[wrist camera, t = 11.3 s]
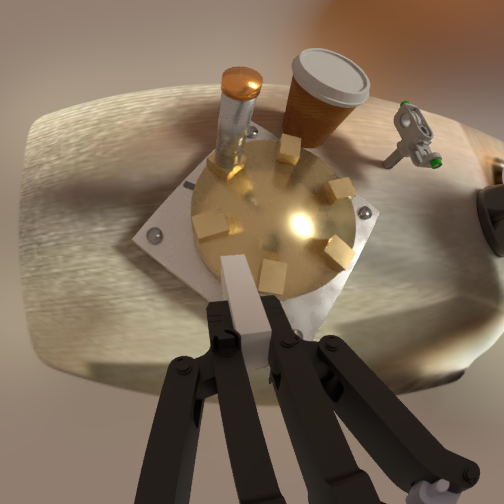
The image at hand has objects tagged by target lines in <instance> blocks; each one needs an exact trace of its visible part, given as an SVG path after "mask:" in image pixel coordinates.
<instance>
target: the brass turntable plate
mask: <svg viewBox="0 0 504 504" xmlns="http://www.w3.org/2000/svg"><path fill="white" fill-rule="evenodd" d="M262 82H263V78H262V76H261V75H260V74H259V73H258V72H257V71H255V70H253V69H251V68H247V67H232V68H229V69H227V70H226V71H225V72H224V73H223V75H222V82H221V90H222V94H221V102H220V111H219V119H218V128H217V138H216V147H215V151H214V152H213V153H212V154H210V155H209V156H208V157H207V160H206V167H205V168H204V170H203V171H202V173H201V174H200V176H199V178H198V180H197V182H196V184H195V187H194V190H193V194H192V200H191V223H192V231H193V238H194V241H195V244H196V248H197V250H198V252H199V254H200V256H201V258H202V260H203V261H204V263H205V265H206V266H207V267H208V269H209V270H210V271H211V272H212V273H213V274H214V276H215V277H217V278H218V279H219V280H220V281H221V261H220V256H229V255H242V254H245V257H246V260H247V263H248V266H249V268H250V271H251V274H252V277H253V280H254V282H255V285H256V288H257V291H258V294H259V296H267V295H274V296H275V297H276V298H278V299H279V300H288V299H292V298H296V297H299V296H302V295H305V294H307V293H310V292H313V291H315V290H317V289H319V288H321V287H323V286H324V285H326V284H327V283H329V282H330V281H331V280H332V279H334V278H335V277H336V276H337V275H338V273H340V272H342V271H344V270H346V269H347V267H348V266H349V264H350V263H351V261H352V260H353V258H354V256H355V255H356V252H354V251H353V250H352V249H353V246H354V242H355V236H356V218H355V212H354V207H353V204H352V201H351V200H352V199H353V198H354V197H355V196H356V195H357V192H356V190H355V188H354V186H353V184H352V182H351V180H350V178H349V177H346V178H341V179H340V178H339V177H338V176H337V174H336V173H335V172H334V171H333V170H332V169H331V168H330V167H329V166H328V165H327V164H326V163H325V162H324V161H322V160H321V159H320V158H318V157H317V156H315V155H314V154H312V153H311V152H309V151H307V150H305V149H303V148H301V138H298V137H294V136H291V135H287V134H283V133H282V136H281V138H280V140H279V141H275V140H255V141H249V142H245V141H246V137H247V133H248V129H249V125H250V121H251V118H252V114H253V110H254V106H255V102H256V99H257V96H258V95H259V93H260V90H261V86H262Z"/></svg>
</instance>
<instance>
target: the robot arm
mask: <svg viewBox="0 0 504 504" xmlns="http://www.w3.org/2000/svg"><path fill="white" fill-rule="evenodd" d="M477 209H478V214H479V219H480V222H481V226H482V229H483V231H484V234H485V236H486V238H487V240H488V242H489V244H490V246H491V247H492V249H493V250H494V252H495V253H496V254H497V255H499V256H501V257H504V184H499V185H494V186H487V187H485V188H484V189H482V190H480V191H479V193H478V196H477ZM220 261H221V285H222V295H223V300H224V301H215V302H209V304H208V306H207V308H206V310H207V320H208V329H209V337H210V344H211V345H210V349H209V350H208V352H207V353H206V354H204V355H203V356H201V357H198V358H196V359H193V358H192V357H188V356H180V357H177V358H175V359H174V360H172V361H171V363H170V364H169V367H168V370H167V374H166V377H165V380H164V384H163V387H162V391H161V395H160V398H159V402H158V406H157V409H156V413H155V417H154V421H153V424H152V429H151V433H150V436H149V440H148V444H147V448H146V452H145V456H144V461H143V465H142V469H141V474H140V478H139V483H138V487H137V492H136V497H135V502H134V504H189V499H190V492H191V485H192V478H193V472H194V465H195V458H196V451H197V445H198V438H199V432H200V425H201V419H202V413H203V407H204V401H205V398H207V397H210V396H212V395H215V394H217V393H218V399H219V405H220V411H221V417H222V422H223V427H224V433H225V438H226V444H227V448H228V454H229V458H230V463H231V468H232V473H233V477H234V482H235V486H236V491H237V495H238V499H239V503H240V504H286V501H285V499H284V497H283V496H282V494H281V492H280V490H279V487H278V483H277V480H276V477H275V473H274V470H273V466H272V463H271V460H270V456H269V453H268V449H267V446H266V442H265V438H264V435H263V431H262V428H261V424H260V420H259V417H258V413H257V409H256V405H255V401H254V397H253V394H252V390H251V386H250V382H249V378H248V374H247V370H251V369H258V368H264V367H268V362H269V365H270V368H271V369H270V376H269V384H271V382H272V383H273V386H274V389H275V393H276V396H277V399H278V402H279V405H280V408H281V412H282V414H283V418H284V421H285V424H286V427H287V430H288V433H289V436H290V439H291V442H292V446H293V449H294V452H295V455H296V457H297V461H298V463H299V467H300V470H301V472H302V476H303V479H304V481H305V484H306V487H307V490H308V502H309V504H386V503H383V502H381V501H380V499H379V497H378V495H377V493H376V490H375V488H374V486H373V483H372V481H371V479H370V477H369V475H368V474H367V473H366V472H365V471H363V470H361V469H359V467H358V466H357V464H356V461H355V459H354V457H353V455H352V452H351V450H350V448H349V445H348V443H347V441H346V439H345V436H344V434H343V432H342V430H341V427H340V425H339V423H338V420H337V418H336V416H335V413H336V414H337V415H338V417H339V418H340V419H341V420H342V421H343V423H344V424H345V425H346V427H347V428H348V429H349V430H350V431H351V433H352V434H353V435H354V436H355V438H356V439H357V440H358V441H359V443H360V444H361V445H362V446H363V447H364V449H365V450H366V451H367V452H368V454H369V455H370V456H371V457H372V458H373V460H374V461H375V462H376V463H377V464H378V466H379V467H380V468H381V469H382V470H383V472H384V473H385V474H386V475H387V476H388V477H389V479H390V480H391V481H392V482H393V483H394V484H395V485H396V486H398V487H399V488H400V489H402V490H403V491H405V492H407V493H408V496H407V497H406V503H407V504H456V503H457V500H458V498H459V496H460V494H461V492H462V491H465V490H467V489H469V488H471V487H473V486H474V485H475V484H476V483H477V481H478V479H479V476H480V469H479V467H478V465H477V464H476V463H475V462H473V461H471V460H468V459H466V458H464V457H461V456H459V455H457V454H455V453H453V452H451V451H448V450H447V449H445V448H444V447H443V446H442V445H441V444H440V443H439V442H438V441H437V439H436V438H435V437H434V436H433V435H432V434H431V433H430V432H429V431H428V430H427V429H426V428H425V427H424V426H423V425H422V423H421V422H420V421H419V420H418V419H417V418H416V417H415V416H414V415H413V414H412V413H411V412H410V411H409V410H408V408H407V407H406V406H405V405H404V404H403V403H402V402H401V401H400V400H399V399H398V398H397V397H396V396H395V395H394V394H393V392H392V391H391V390H390V389H389V388H388V387H387V386H386V385H385V384H384V383H383V382H382V381H381V380H380V379H379V378H378V377H377V376H376V374H375V373H374V372H373V371H372V370H371V369H370V368H369V367H368V366H367V365H366V364H365V363H364V362H363V361H362V360H361V359H360V358H359V356H358V355H357V354H356V353H355V352H354V351H353V350H352V349H351V348H350V347H349V346H348V345H347V344H346V343H345V342H344V341H343V340H342V339H341V338H340V337H337V336H334V335H327V336H324V337H323V338H321V339H320V341H319V342H314V341H306V340H303V339H301V338H300V337H299V336H298V335H297V334H295V333H294V332H293V330H292V327H291V325H290V323H289V321H288V318H287V316H286V314H285V311H284V309H283V308H282V305H281V302H280V300H279V299H278V298H276V297H275V296H274V295H267V296H259V294H258V291H257V288H256V285H255V282H254V280H253V277H252V274H251V271H250V268H249V266H248V263H247V260H246V257H245V254H242V255H229V256H220ZM333 410H334V411H335V413H334V411H333Z"/></svg>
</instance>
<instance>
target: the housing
mask: <svg viewBox="0 0 504 504" xmlns="http://www.w3.org/2000/svg"><path fill="white" fill-rule="evenodd" d="M255 140H275V141H279V140H280V138H278V137H277V136H275V135H274V134H272V133H270V132H269V131H267V130H266V129H264V128H262V127H261V126H259V125H257V124H256V123H254V122H252V121H250V125H249V129H248V133H247V137H246V141H245V142H249V141H255ZM214 151H215V149H214V150H213V151H212V152H211V153H210V154H212V153H213V152H214ZM210 154H209V155H210ZM209 155H208V156H209ZM208 156H207V157H208ZM207 157H206V158H205V159H204V160H203V161H202V162H201V163H200V164H199V165H198V166H197V167H196V168H195V169H194V170H193V171H192V172H191V173H190V174H189V175H188V177H187V178H186V179H185V180H184V181H183V182H182V183H181V184H180V185H179V186H178V187H177V188H176V189H175V190H174V191H173V192H172V194H171V195H170V196H169V197H168V198H167V199H166V200H165V201H164V202H163V204H162V205H161V206H160V207H159V208H158V209H157V210H156V211H155V213H154V214H153V215H152V216H151V217H150V218H149V219H148V221H147V222H146V223H145V224H144V225H143V227H142V228H141V229H140V230H139V231H138V232H137V234H136V235H135V236H134V237H133V239H132V241H133V242H134V243H135V244H136V246H137V247H138V248H139V249H141V250H142V251H143V252H144V253H145V254H147V255H148V256H149V257H150V258H152V259H153V260H154V261H155V262H157V263H158V264H159V265H160V266H162V267H163V268H164V269H165V270H167V271H168V272H169V273H171V274H172V275H173V276H174V277H176V278H177V279H178V280H180V281H181V282H182V283H183V284H185V285H186V286H187V287H189V288H190V289H191V290H193V291H194V292H195V293H197V294H198V295H199V296H201V297H202V298H203V299H205V300H206V301H207V302H215V301H224V300H223V295H222V285H221V281H220V280H219V279H218V278H217V277H215V276H214V274H213V273H212V272H211V271H210V270H209V269H208V267H207V266H206V265H205V263H204V261H203V260H202V258H201V256H200V254H199V252H198V250H197V248H196V244H195V241H194V238H193V231H192V223H191V200H192V194H193V190H194V187H195V184H196V182H197V180H198V178H199V176H200V174H201V173H202V171H203V170H204V168H205V167H206V160H207ZM351 201H352V204H353V207H354V212H355V218H356V236H355V242H354V246H353V249H352V250H353V251H354V252H356V255H355V256H354V258H353V260H352V261H351V263H350V264H349V266H348V267H347V269H346V270H344V271H342V272H340V273H338V275H337V276H336V277H335V278H334V279H332V280H331V281H330V282H329V283H327V284H326V285H324V286H323V287H321V288H319V289H317V290H315V291H313V292H310V293H307V294H305V295H302V296H299V297H296V298H292V299H288V300H280V302H281V305H282V308H283V309H284V311H285V314H286V316H287V318H288V321H289V323H290V325H291V327H292V330H293V332H294V333H295V334H297V335H298V336H299V337H300V338H301V339H303V340H306V341H312V339H313V337H314V336H315V334H316V333H317V331H318V329H319V328H320V326H321V324H322V323H323V321H324V319H325V318H326V316H327V314H328V312H329V311H330V309H331V307H332V305H333V304H334V302H335V300H336V298H337V297H338V295H339V293H340V291H341V289H342V288H343V286H344V284H345V282H346V280H347V278H348V276H349V274H350V273H351V271H352V269H353V267H354V265H355V263H356V261H357V259H358V257H359V255H360V253H361V251H362V249H363V247H364V245H365V243H366V241H367V239H368V237H369V235H370V233H371V230H372V228H373V226H374V224H375V222H376V220H377V217H378V215H379V213H380V212H379V211H378V210H376V209H375V208H374V207H373V206H372V205H370V204H369V203H368V202H367V201H365V200H364V199H363V198H362V197H361V196H359V195H358V194H357V195H356V196H355V197H354V198H353V199H352V200H351Z"/></svg>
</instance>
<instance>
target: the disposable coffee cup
mask: <svg viewBox="0 0 504 504" xmlns="http://www.w3.org/2000/svg"><path fill="white" fill-rule="evenodd" d="M292 70H293V77H292V82H291V88H290V92H289V96H288V101H287V106H286V112H285V115H284V120H283V125H282V128H283V131H284V133H285V134H287V135H291V136H294V137H298V138H301V146H302V147H306V148H314V147H318V146H320V145H321V144H322V143H323V142H324V141H325V140H326V139H327V137H328V136H329V135H330V134H331V133H332V132H333V131H334V130H335V129H336V128H337V127H338V126H339V125H340V124H341V123H342V122H343V120H344V119H345V118H346V117H347V116H348V115H349V114H350V113H351V112H352V111H353V110H354V109H355V108H356V107H357V106H359V105H361V104H363V103H364V102H366V101H367V99H368V98H369V88H370V82H369V79H368V77H367V75H366V74H365V73H364V71H363V70H362V69H361V68H360V67H359V66H357V65H356V64H355V63H354V62H352V61H351V60H349V59H348V58H346V57H344V56H342V55H340V54H338V53H336V52H333V51H330V50H326V49H319V48H310V49H306V50H304V51H303V52H301V53H300V55H299V56H297V57H296V58H295V59H294V60H293V62H292Z"/></svg>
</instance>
